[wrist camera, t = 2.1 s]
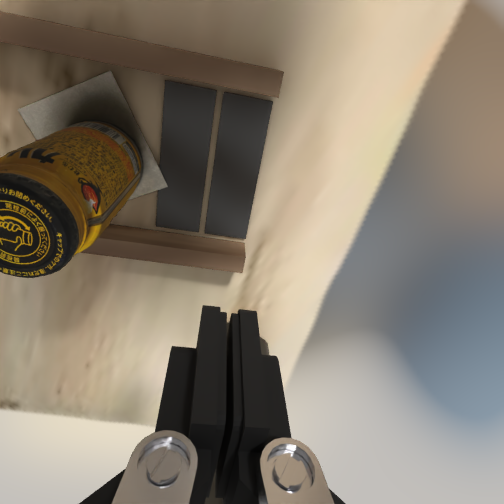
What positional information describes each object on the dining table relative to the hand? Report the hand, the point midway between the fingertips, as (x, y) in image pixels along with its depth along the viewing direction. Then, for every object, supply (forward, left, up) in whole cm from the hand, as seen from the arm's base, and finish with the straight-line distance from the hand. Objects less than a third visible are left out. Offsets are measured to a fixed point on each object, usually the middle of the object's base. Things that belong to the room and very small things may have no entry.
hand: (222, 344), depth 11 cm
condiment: (0, -10, -19) cm, 21 cm away
